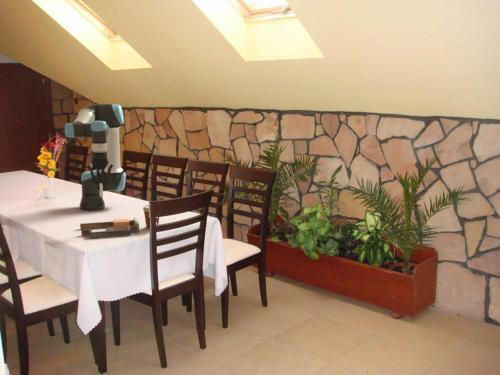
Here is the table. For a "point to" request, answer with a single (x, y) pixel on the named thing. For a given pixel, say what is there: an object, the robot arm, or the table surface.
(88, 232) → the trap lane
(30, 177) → the table surface
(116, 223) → the terracotta block
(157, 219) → the disposable coffee cup
